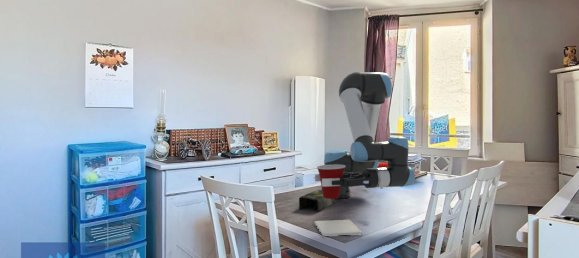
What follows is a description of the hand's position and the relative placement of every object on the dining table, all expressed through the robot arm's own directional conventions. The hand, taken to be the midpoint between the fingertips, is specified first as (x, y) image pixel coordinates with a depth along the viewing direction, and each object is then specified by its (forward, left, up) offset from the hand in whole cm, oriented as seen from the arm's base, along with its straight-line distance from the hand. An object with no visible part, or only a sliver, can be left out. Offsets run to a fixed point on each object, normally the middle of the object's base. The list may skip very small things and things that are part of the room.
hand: (318, 180), depth 128 cm
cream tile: (+3, +7, -18) cm, 19 cm away
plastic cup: (0, +5, -7) cm, 8 cm away
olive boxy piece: (-29, +6, -18) cm, 35 cm away
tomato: (-75, +59, -18) cm, 97 cm away
